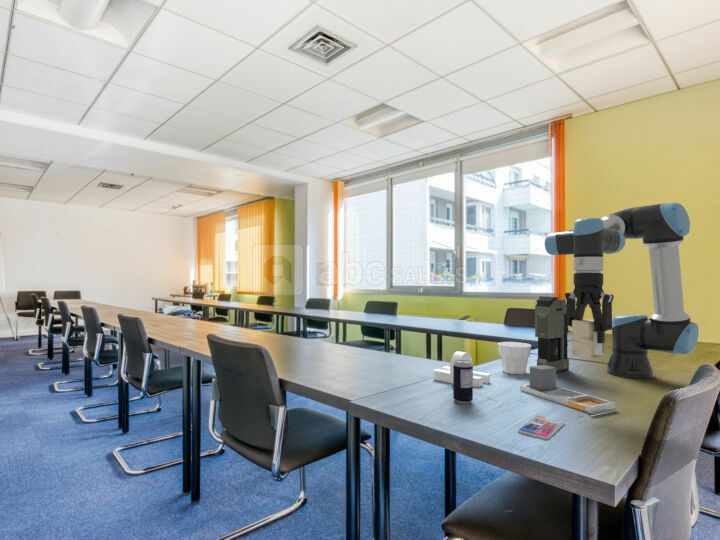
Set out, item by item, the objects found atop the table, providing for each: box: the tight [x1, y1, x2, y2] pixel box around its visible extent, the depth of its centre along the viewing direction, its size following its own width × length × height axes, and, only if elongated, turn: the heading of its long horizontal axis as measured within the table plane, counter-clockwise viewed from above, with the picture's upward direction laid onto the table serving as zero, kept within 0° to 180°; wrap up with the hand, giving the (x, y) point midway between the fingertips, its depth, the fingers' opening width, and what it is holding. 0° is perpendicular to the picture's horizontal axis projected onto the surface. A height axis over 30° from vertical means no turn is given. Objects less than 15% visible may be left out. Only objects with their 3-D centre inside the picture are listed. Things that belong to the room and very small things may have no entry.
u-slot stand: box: [433, 350, 491, 388], centre depth 146 cm, size 10×18×11 cm, turn 47°
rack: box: [519, 383, 616, 416], centre depth 123 cm, size 11×24×2 cm, turn 26°
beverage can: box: [452, 360, 474, 405], centre depth 122 cm, size 6×6×12 cm
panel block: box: [571, 319, 605, 359], centre depth 117 cm, size 7×5×10 cm
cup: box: [497, 341, 532, 375], centre depth 161 cm, size 12×12×11 cm
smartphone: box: [517, 415, 566, 441], centre depth 101 cm, size 7×1×15 cm
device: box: [534, 295, 570, 375], centre depth 163 cm, size 14×8×30 cm, turn 124°
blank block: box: [529, 365, 557, 391], centre depth 131 cm, size 7×5×8 cm
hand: (588, 352), depth 117 cm, fingers closed on panel block, 5 cm apart
